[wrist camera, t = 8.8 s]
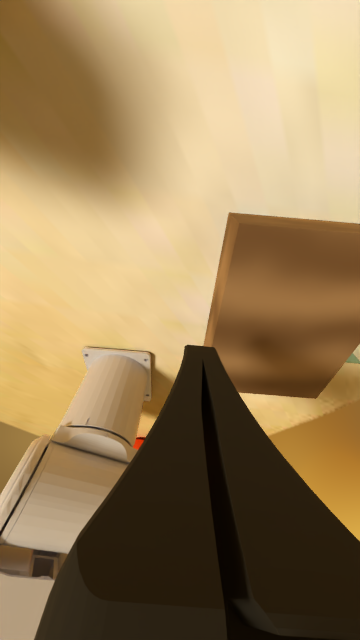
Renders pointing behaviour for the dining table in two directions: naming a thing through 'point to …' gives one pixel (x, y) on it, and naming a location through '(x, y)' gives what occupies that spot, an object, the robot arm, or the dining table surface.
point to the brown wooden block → (285, 303)
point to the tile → (357, 352)
